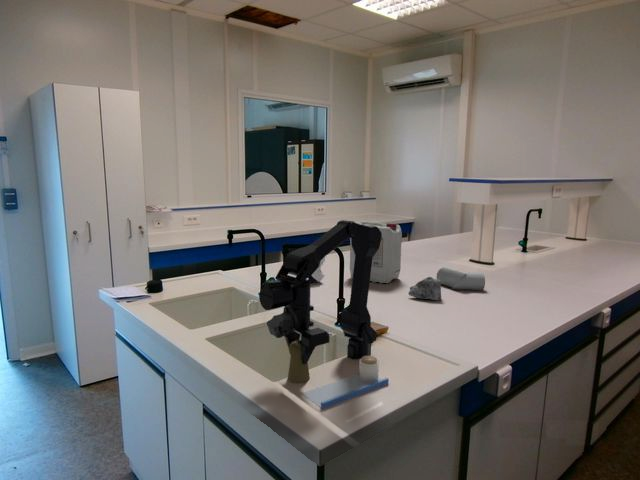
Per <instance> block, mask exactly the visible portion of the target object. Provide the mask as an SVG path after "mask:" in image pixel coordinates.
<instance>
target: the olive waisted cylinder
mask: <svg viewBox="0 0 640 480" xmlns="http://www.w3.org/2000/svg"><path fill="white" fill-rule="evenodd" d="M288 352H289V355H290V354H291V355H290V359H289V367H288V375H287V381H288V382H290V383H293V384H305V383H307V382H309V381H310V379H311V378H310V377H311V376H310V372H309V371H310V369H309V364H308V363H309V361H308V362H307V364H305V365H303V364H302V356H301V346H300V345H299V344H298V343H297V342H296V341H293V342H292V343H291V344H290V345H289V348H288Z"/></svg>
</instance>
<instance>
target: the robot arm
mask: <svg viewBox="0 0 640 480" xmlns="http://www.w3.org/2000/svg"><path fill="white" fill-rule="evenodd" d="M357 223H358V222H355V221H353V220H347V219H346V220H345V219H342V220H339V221H338V222H337V223H336V225H334V226H333V227H331V228H330V229H329V230H328V231H326V232H325V233H323V234H322V235H321V236H320V237H318V238H317V239H316V240H315V241H313V242H311V244H309V245H307V246H303V247H300V248H297V249H295V250H293V251H291V252H289V253H287V255H286V256H285V257H284V262H283V263H282V265H281V267H280V269H279V271H278V272H277V274H276V275H275V278H274V279H275V280H265V281H264V282H263V287H261V289H260V291H259V293H258V299H259V300H258V301H259V302H260V305H261V307H262V308H263V310H265V311H271V310H276V309H279V308H283V312H282V313H280V314H276V315H273V317H272V318H271V319H269V320H267V322H266V326H267V329H268V332H269V334H270V335H272V336H274V337H275V338H276V339H280V338H283V337H284V339H285V341H286V345H287V348H288V349H289V345H290V344H291V343H292V342H293V341H296V342H297V343H298V344H299V345H300V346H301V356H302V364H303V365H305V364H307V362H308V363H309V360H310V358H311V356H312V355H313V352H314V350H315V348H316V347H319V346H321V345H326V344H329V343H330V333H329V332H328V331H327V330H324V329H323V328H320V327H316V328H311V329H310V327H313V326H314V321H312V320H311V312H312V311H314V310H315V309H314V306H313V305H311V285H315V284H317V283H318V282H317V280H316V279H314V278H313V277H312V274H313V273H314V272H315V271H316V270H317V269H318V267H319V265H320V262H321V260H322V259H323V258H324V257H325V258H326V257H327V255H329V254H331V252H333V251H334V250H335V249H337V248H338V247H339V246H340V245H341V244H343V243H344V242H346V240H348V239H350V238H351V245H352V248H353V251H354V253H355V263H354V271H353V278H351V279H352V281H351V290H350V298H349V303H348V306H347V307H346V308H345V309H342V310H341V311H340V315H341V316H340V319H339V320H340V321H339V324H340V329H341V330H342V332H343V336H344V337H345V338H348V344H347V351H346V352H347V354H346V355H347V356H346V357H347V358H350V359H351V360H360V359H361V358H362V357H363V356H372V355H371V354H372V345H373V344H374V342H376V341H377V337H378V332H377V331H376V330H375V329H374V328H373V327H372V326H371V325H372V318H371V315H370V311H369V309H368V300H369V298H368V297H369V290H370V283H371V282H370V275H371V266H372V258H373V256H374V255H375V253H376V252H377V251H378V249H379V247H380V242H381V238H382V233H381V231H380V230H379V228H378V227H376V226H368V225H360V224H357ZM289 355H290V356H291V354H290V353H289Z"/></svg>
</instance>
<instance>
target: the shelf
mask: <svg viewBox="0 0 640 480" xmlns="http://www.w3.org/2000/svg"><path fill="white" fill-rule="evenodd" d="M389 382H390V381H389V378H388V377H385V378H379V377H378V381H376V382H374V383H371V384H367V383H363V382H361V381H360V380H359V372H358V373H355V374H353V375H350V376H347V377H345V378H340V379H339V380H336V381H333V382H329V383H327V384H324V385H321V386H319V387H315V388H313V389H312V388H311V389H310V390H306V391H305V392H301V395H303V396H304V397H305V398H306V399H308V400H309V401H311V402H312V403H313V404H315V405H316V406H318V407H319V408H320V409H322V410H324V409H326V408H329V407H332V406H334V405H337V404H339V403H343V402H345V401H347V400H349V399H350V400H351V399H352V398H355V397H358V396H360V395H363V394H365V393H368V392H371V391H374V390H375V389H379V388H381V387H383V386H386V385H389Z"/></svg>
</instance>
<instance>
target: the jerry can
mask: <svg viewBox="0 0 640 480" xmlns="http://www.w3.org/2000/svg"><path fill="white" fill-rule="evenodd" d="M356 223H357V224H360V225H368V226H376V227H378V228H379V230H380V231H381V233H382V238H381V242H380V247H379V249H378V251H377V252H376V253H375V255H374V256H373V258H372V266H371V275H370V281H372V282H371V283H376V282H379V283H378V284H382V283H387V284H390V283H391V282H392V280H397V279H398V278H399V277H400V272H401V263H402V262H401V261H402V242H403V241H402V240H403V233H402V228H401V226H400V225H399V224H397V223H394V222H387V223H382V222H379V221H378V222H377V221H376V222H375V221H365V220H364V221H363V220H361V221H360V220H359V221H358V222H356ZM349 241H350V242H349V243H350V247H349V249H350V250H349V272H350V278H351V279H353V271H354V263H355V253H354V251H353V248H352V245H351V238H349Z"/></svg>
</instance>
